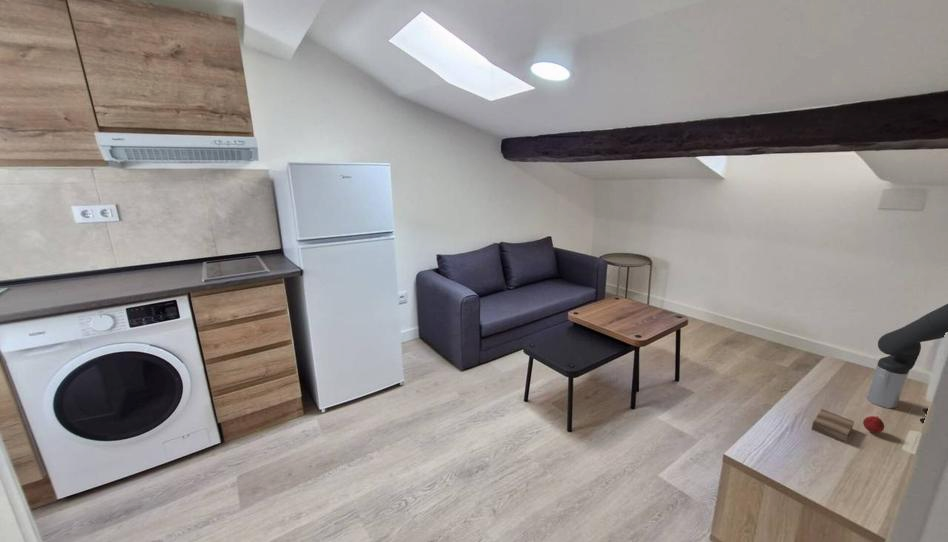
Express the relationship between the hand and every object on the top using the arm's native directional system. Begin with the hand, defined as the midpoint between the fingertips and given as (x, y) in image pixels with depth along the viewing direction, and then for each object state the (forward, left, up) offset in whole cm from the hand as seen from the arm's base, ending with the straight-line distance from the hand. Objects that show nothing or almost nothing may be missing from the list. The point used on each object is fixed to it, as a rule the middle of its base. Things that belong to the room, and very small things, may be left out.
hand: (923, 417), depth 138 cm
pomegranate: (0, -11, -14) cm, 18 cm away
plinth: (+10, -21, -14) cm, 27 cm away
